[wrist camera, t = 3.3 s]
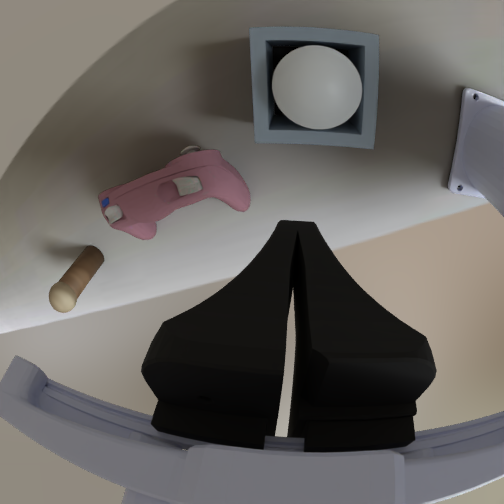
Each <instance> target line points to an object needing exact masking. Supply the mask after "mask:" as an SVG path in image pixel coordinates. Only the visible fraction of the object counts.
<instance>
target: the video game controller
mask: <svg viewBox="0 0 504 504" xmlns="http://www.w3.org/2000/svg"><path fill="white" fill-rule="evenodd" d="M200 149H201V148H200V147H198V146H188V147H186V148H185V149H184V150H182V151H181V155H182V156H180V157H178V158H176V159H174V160H172V161H170V162H169V163H168V164H166V166H165V168H163V169H161V170H158V171H155V172H152V173H149V174H147V175H145V176H142V177H140V178H138V179H136V180H133V181H131V182H129V183H127V184H123V185H119V186H116V187H113V188H110V189H108V190H105V191H103V192H102V193H101V194H99V196H98V198H99V202H100V205H101V210H102V213H103V215H104V217H105V219H106V220H107V222H108V223H109V225H110V226H111V227H112V228H114V229H117V230H121V231H124V232H127V233H129V234H131V235H132V236H134V237H137V238H139V239H142V240H149V239H152V238H153V237H154V236H155V234H156V223H155V221H159V220H161V219H163V218H165V217H166V216H168V215H169V214H171V213H172V212H173V211H174V210H176V209H179V208H182V207H185V206H188V205H191V204H193V203H196V202H198V201H201V200H203V199H206V198H208V197H215V198H218V199H220V200H221V201H223V202H225V203H226V204H228V205H229V206H230V207H232V208H233V209H235V210H237V211H241V212H244V211H246V210H248V208H249V206H250V200H251V199H250V192H249V189H248V187H247V185H246V183H245V181H244V180H243V178H242V177H241V175H240V174H239V172H238V171H237V170H236V169H235V168H234V167H233V166H232V165H231V164H229V163H228V162H227V161H225V160H224V159H223V158H222V156H221V154H220V151H218V150H202V151H199V150H200Z"/></svg>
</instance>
